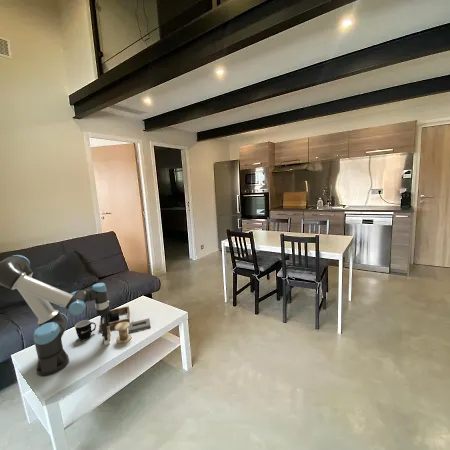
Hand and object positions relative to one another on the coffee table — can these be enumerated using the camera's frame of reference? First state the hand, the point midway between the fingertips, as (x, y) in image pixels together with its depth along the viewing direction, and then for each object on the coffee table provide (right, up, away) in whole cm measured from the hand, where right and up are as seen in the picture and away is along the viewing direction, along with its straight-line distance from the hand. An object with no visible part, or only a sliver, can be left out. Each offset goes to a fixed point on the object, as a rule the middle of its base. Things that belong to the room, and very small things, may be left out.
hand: (107, 339), depth 163 cm
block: (0, 0, 0) cm, 0 cm away
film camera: (-7, +3, +21) cm, 23 cm away
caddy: (-5, +3, +23) cm, 23 cm away
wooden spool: (+11, +1, 0) cm, 11 cm away
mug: (-16, -1, +6) cm, 17 cm away
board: (+16, +3, +13) cm, 21 cm away
